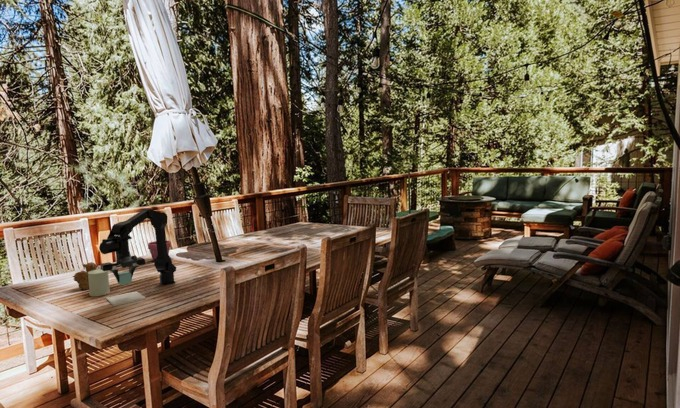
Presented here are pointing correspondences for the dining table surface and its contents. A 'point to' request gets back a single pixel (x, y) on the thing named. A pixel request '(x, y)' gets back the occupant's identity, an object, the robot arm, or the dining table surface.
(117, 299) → the plate
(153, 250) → the plant pot
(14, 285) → the dining table surface
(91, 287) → the can
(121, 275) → the cube
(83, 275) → the stuffed squirrel
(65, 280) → the dining table surface
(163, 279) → the robot arm
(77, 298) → the dining table surface
